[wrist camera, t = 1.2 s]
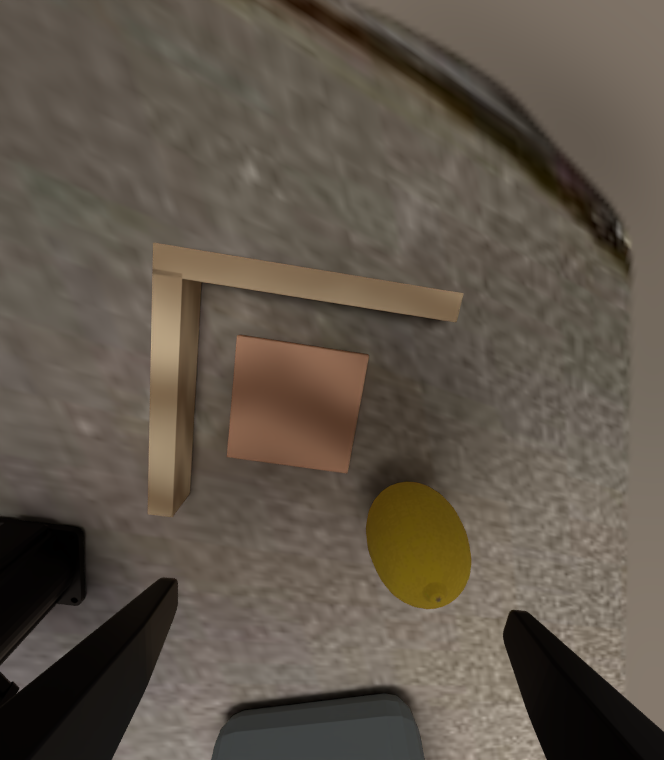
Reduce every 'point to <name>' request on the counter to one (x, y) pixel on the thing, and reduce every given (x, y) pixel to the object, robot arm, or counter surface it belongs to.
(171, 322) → the wooden corner frame
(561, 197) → the counter surface
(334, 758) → the grey taped box
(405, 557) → the lemon
